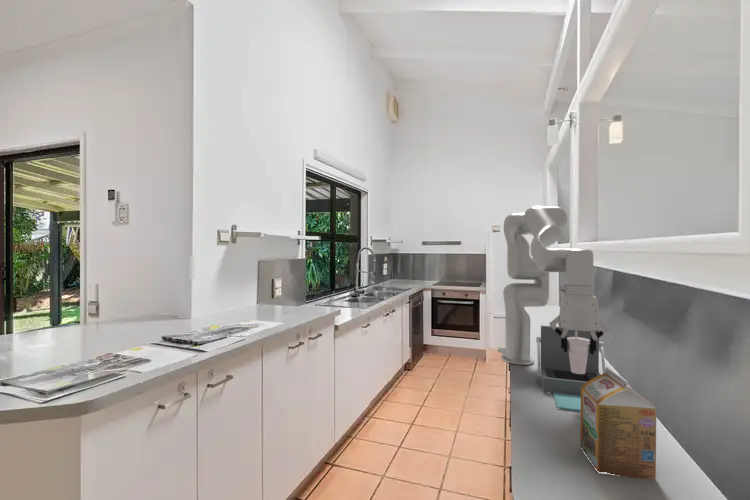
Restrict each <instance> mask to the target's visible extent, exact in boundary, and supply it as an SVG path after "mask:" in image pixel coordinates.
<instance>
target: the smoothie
mask: <svg viewBox="0 0 750 500" xmlns="http://www.w3.org/2000/svg"><path fill="white" fill-rule="evenodd" d="M567 343H568V351H569V359H570V367H571V372H572V373H576V374H585V371H586V364H587V357H588V350H589V345H590V344H591V343H590V340H589V339H586V338H580V337H577V331H575V337H568V338H567Z"/></svg>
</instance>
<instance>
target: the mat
mask: <svg viewBox="0 0 750 500" xmlns="http://www.w3.org/2000/svg"><path fill="white" fill-rule="evenodd" d="M553 398H554V401H555V406H556V409H557V408H559V409H558V410H562V409H566V410H565V411H570V410H571V412H578V413H581V396H578V395H570V394H561V393H553Z"/></svg>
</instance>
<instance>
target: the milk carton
mask: <svg viewBox="0 0 750 500" xmlns="http://www.w3.org/2000/svg"><path fill="white" fill-rule="evenodd" d="M605 370H606V373H604V374H603V373H602V374H601V375H599V376H597V377H595V378H593V379H591V380H589V381H588V382H586V383H585V384H584V385H582V386H581V412H580V430H579V431H580V432H579V433H580V435H579V436H580V437H579V438H580V440H579V442H580V446H579V448H580V447H581V448H582V449H583V451H584V452H585V454H586V455H587V457H588V458H589V460H590V461H591V462H592V464H593V465H594V467H595V468H596V469H597V471H599V472H607V473H610V474H615V475H620V476H619V477H622V476H626V477H625V478H631V479H632V478H634V479H644V480H654V481H656V480H657V476H656V475H657V472H656V469H657V462H656V461H657V408H656V407H655V406H654V405H653V403H651V402H650V401H649V400H648V399H646V398H644V396H642V395H641V394H639V393H638V392H637V391H635V390H634V389H633V388H631V387H630V386H629V383H628V381H627V380H626V379H625V378H623V376H621V375H619V374H618V373H616V372H615V371H614V370H612V369H611V368H609V367H608V366H605Z"/></svg>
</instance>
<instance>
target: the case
mask: <svg viewBox="0 0 750 500" xmlns="http://www.w3.org/2000/svg"><path fill="white" fill-rule="evenodd" d="M557 327H558V328H559V329H560V330H561V331H562V329H563V328H561V327H559V326H557ZM599 330H600V328H599V329H598V330H597V331H599ZM597 331H595V333H596V332H597ZM568 337H575V330H569V331H568V333H567V335H566V338H568ZM577 337H580V338H586V339H590V338H591V335H590V333H589V331H577ZM536 345H537V346H536V348H537V351H536V352H537V354H536V355H537V369H536V375H537V376H538V377H539V376H540V383H541V389H542V392H543V393H546V392H550V393H549V394H554V393H561V394H570V395H578V396H581V386H582V385H584V384H585V383H586V382H588V381H589V380H591V379H593V378H595V377H597V376H599V375H602V374H604V373H606V361H605V351H604V350H605V349H604V347H605V346H604V345H605V343H604V342H603V341H600V338H598V340H597V341H596V351H594V354H591V353H590V352H589V350H588V357H587V364H586V371H585V374H576V373H572V372H571V367H570V359H569V351H568V343H567V352H564V350H563V348H561V337H560V336H559V335H558V334H557V333H556V332H555V330H554V329H553V328H552V327H551V326H550V325H540V336H536ZM600 354H601V355H600ZM599 355H600V356H601V357H600V356H599ZM599 357H600V358H601V365H602V368H601V369H602V374H601V373H600V372H599V371H600V368H599V367H600V366H599V364H600V361H599V360H600V358H599Z"/></svg>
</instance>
